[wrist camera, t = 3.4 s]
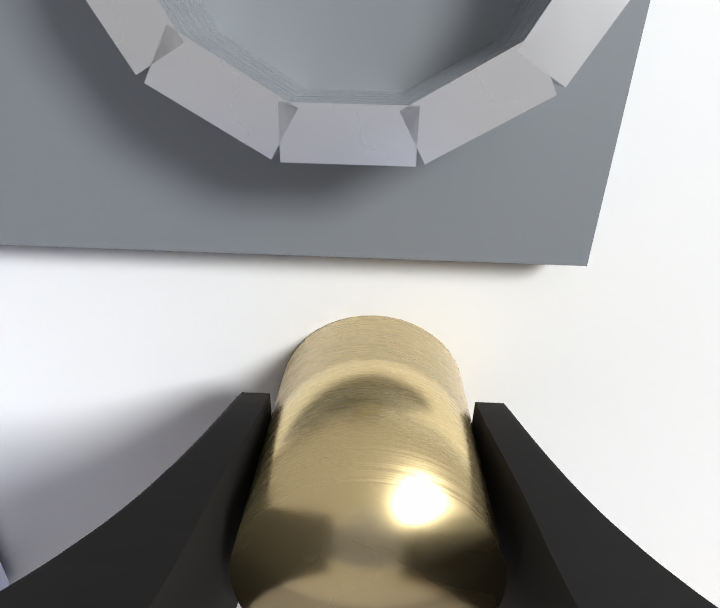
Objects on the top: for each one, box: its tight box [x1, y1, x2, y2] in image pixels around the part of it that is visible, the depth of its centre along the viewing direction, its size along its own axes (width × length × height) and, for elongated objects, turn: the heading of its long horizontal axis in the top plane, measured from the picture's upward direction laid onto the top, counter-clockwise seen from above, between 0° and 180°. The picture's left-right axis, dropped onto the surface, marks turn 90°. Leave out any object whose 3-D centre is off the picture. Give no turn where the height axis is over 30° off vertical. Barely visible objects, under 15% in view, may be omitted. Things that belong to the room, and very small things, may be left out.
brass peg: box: [229, 316, 507, 608], centre depth 11 cm, size 4×4×5 cm
